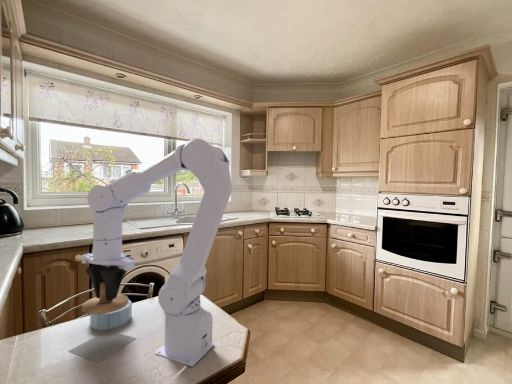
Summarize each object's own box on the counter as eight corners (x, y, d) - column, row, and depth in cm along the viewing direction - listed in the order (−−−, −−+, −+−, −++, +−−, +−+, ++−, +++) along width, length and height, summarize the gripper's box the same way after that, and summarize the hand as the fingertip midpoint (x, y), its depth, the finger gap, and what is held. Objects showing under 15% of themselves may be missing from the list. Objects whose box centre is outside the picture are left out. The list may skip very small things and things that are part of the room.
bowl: (138, 317, 68) (138, 301, 68) (107, 334, 59) (107, 316, 59) (114, 310, 71) (114, 296, 71) (81, 326, 63) (82, 309, 63)
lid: (136, 300, 61) (137, 279, 61) (102, 317, 52) (103, 292, 52) (108, 295, 64) (109, 274, 64) (72, 309, 55) (73, 285, 55)
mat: (136, 340, 57) (136, 338, 57) (98, 365, 49) (98, 363, 49) (108, 331, 61) (108, 329, 61) (68, 353, 52) (68, 351, 52)
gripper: (145, 238, 59) (144, 296, 59) (101, 233, 65) (100, 286, 65) (119, 243, 53) (118, 309, 53) (73, 237, 58) (71, 297, 58)
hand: (106, 297), depth 58 cm, fingers closed on lid, 3 cm apart
